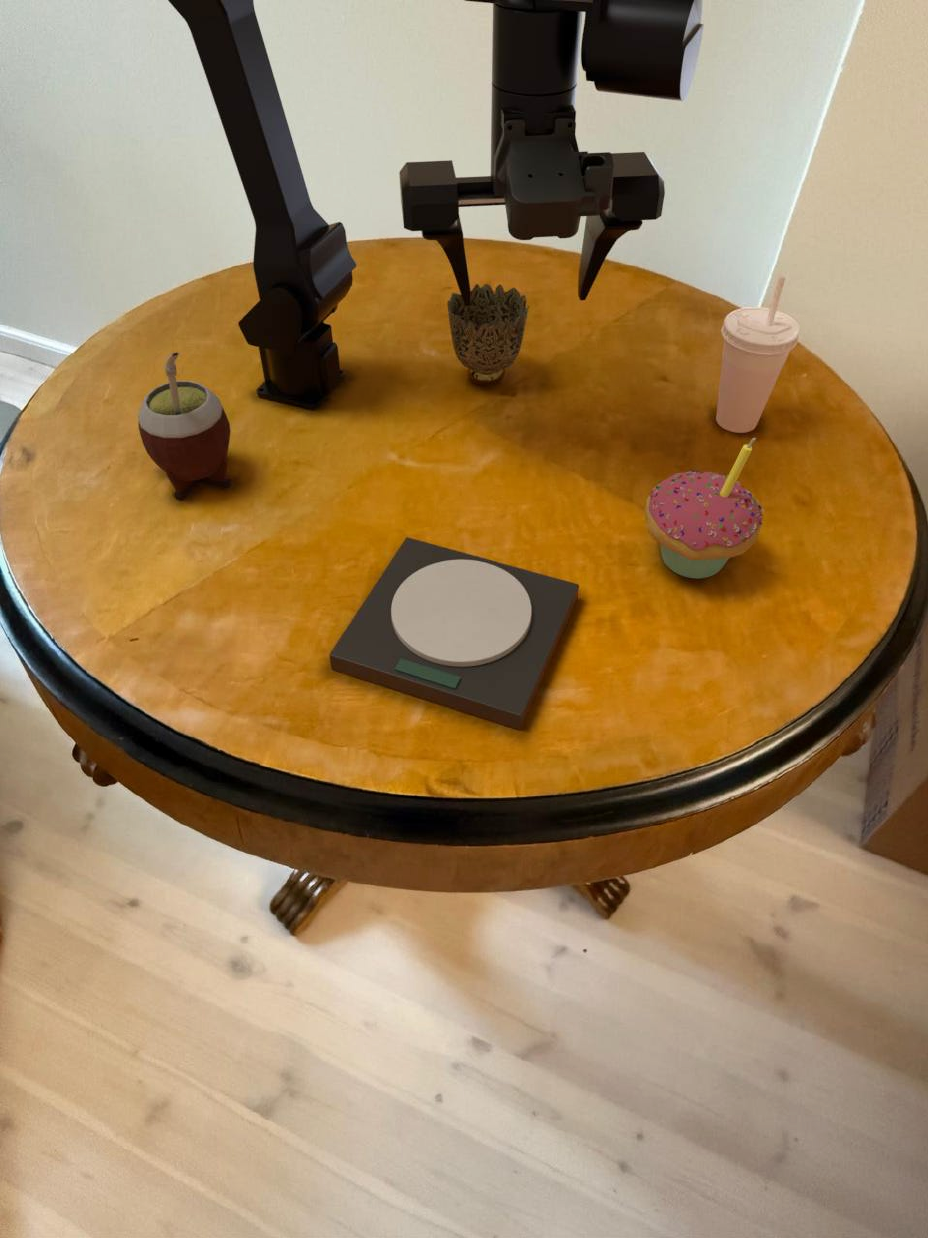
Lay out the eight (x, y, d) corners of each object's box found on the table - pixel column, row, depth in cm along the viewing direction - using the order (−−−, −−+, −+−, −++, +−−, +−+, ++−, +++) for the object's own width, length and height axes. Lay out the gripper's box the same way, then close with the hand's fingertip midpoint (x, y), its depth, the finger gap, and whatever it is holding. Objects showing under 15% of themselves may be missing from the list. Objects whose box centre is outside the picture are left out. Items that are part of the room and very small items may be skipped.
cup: (445, 359, 90) (444, 283, 84) (518, 356, 90) (522, 280, 84) (451, 401, 85) (450, 323, 79) (528, 398, 85) (533, 320, 79)
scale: (331, 669, 63) (327, 649, 61) (407, 551, 71) (406, 530, 69) (520, 730, 59) (522, 710, 58) (577, 599, 67) (580, 578, 66)
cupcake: (752, 536, 72) (793, 410, 63) (739, 609, 67) (781, 481, 58) (647, 513, 74) (672, 387, 65) (625, 582, 69) (650, 454, 60)
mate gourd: (186, 446, 80) (142, 286, 69) (263, 465, 78) (231, 304, 67) (136, 496, 75) (81, 333, 64) (217, 518, 73) (175, 354, 62)
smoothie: (772, 445, 80) (818, 298, 70) (700, 436, 81) (734, 290, 71) (770, 405, 85) (813, 261, 74) (701, 397, 85) (734, 254, 75)
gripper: (400, 130, 54) (413, 361, 65) (703, 118, 55) (664, 347, 67) (393, 72, 62) (405, 288, 73) (660, 62, 63) (631, 276, 74)
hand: (524, 300), depth 71 cm, fingers open, 9 cm apart
